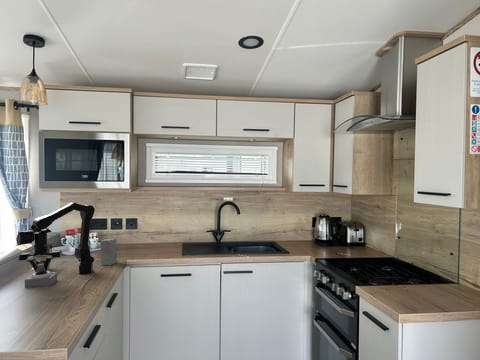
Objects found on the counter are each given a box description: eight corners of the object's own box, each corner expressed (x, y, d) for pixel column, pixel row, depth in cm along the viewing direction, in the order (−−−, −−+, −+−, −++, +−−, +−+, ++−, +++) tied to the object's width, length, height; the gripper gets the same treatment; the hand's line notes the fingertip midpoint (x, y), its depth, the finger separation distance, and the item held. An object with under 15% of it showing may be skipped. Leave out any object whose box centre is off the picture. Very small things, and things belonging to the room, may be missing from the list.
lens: (47, 272, 170) (47, 259, 170) (45, 275, 166) (45, 261, 165) (37, 273, 168) (37, 260, 168) (35, 275, 164) (34, 262, 164)
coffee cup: (32, 272, 186) (32, 247, 186) (38, 267, 196) (37, 243, 195) (50, 271, 189) (50, 246, 189) (55, 266, 198) (55, 242, 198)
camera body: (57, 280, 173) (56, 269, 172) (50, 285, 164) (50, 275, 164) (32, 281, 170) (32, 271, 170) (24, 287, 161) (24, 276, 161)
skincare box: (109, 265, 199) (109, 240, 199) (99, 265, 201) (99, 240, 200) (117, 262, 207) (117, 238, 207) (108, 261, 209) (107, 237, 209)
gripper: (63, 237, 177) (64, 265, 178) (25, 240, 171) (25, 268, 172) (59, 241, 167) (60, 271, 167) (18, 244, 161) (18, 275, 161)
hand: (41, 271), depth 167 cm, fingers closed on lens, 4 cm apart
